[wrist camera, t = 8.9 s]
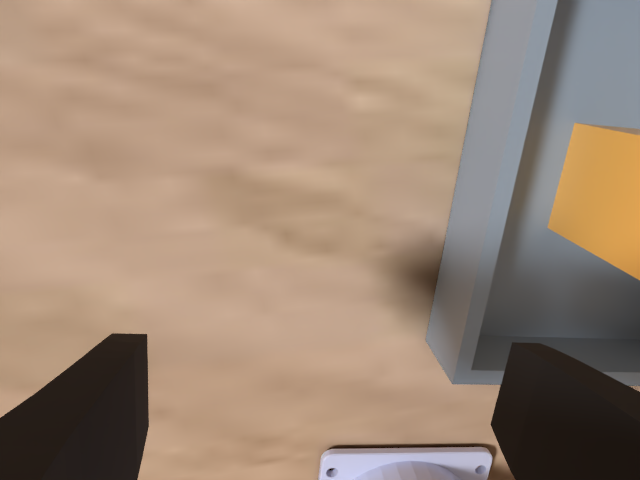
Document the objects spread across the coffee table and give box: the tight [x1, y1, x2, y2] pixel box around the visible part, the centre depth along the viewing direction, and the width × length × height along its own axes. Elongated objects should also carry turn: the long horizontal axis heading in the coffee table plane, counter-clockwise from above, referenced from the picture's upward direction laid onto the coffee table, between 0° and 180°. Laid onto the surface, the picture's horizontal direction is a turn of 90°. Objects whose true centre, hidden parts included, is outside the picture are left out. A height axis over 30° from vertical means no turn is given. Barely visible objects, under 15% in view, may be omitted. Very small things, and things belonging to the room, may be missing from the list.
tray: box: [426, 0, 640, 386], centre depth 18 cm, size 15×10×3 cm
